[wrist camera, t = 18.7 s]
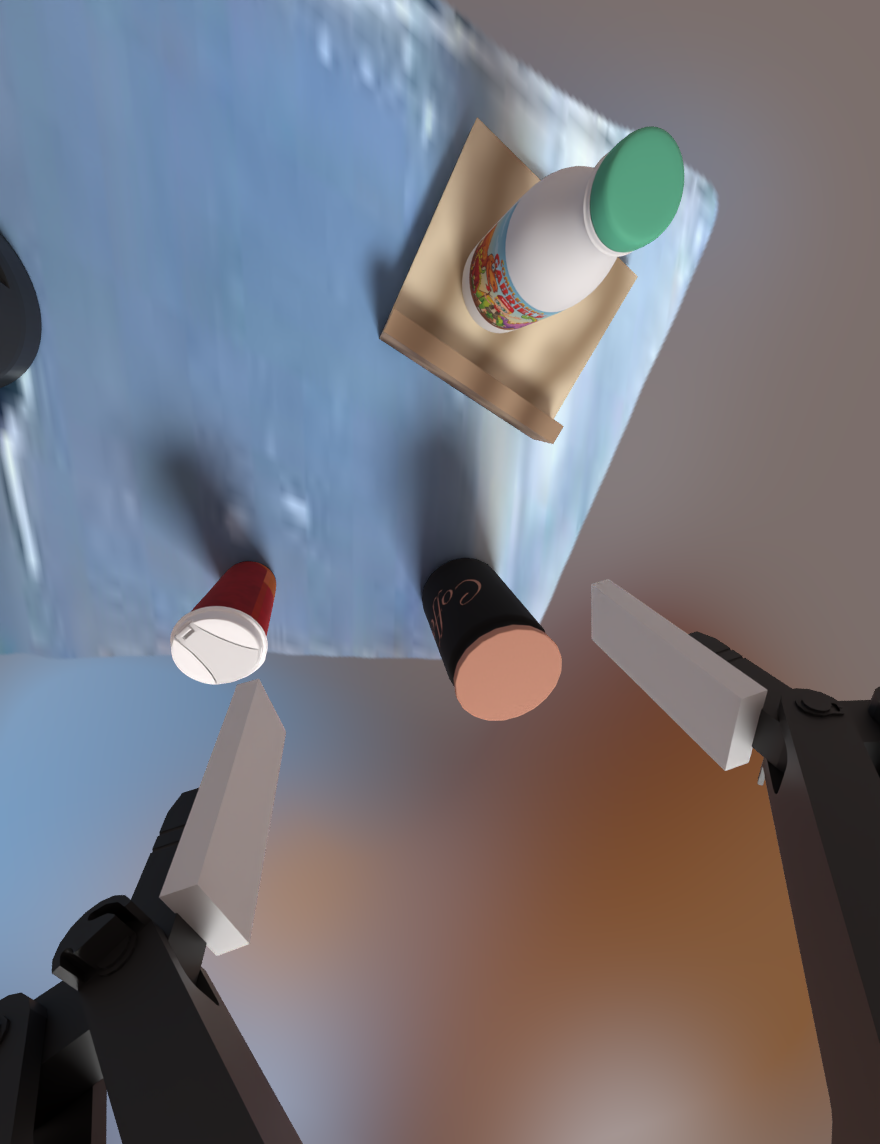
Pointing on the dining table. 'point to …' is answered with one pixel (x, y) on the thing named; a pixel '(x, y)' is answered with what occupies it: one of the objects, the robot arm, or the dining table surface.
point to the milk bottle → (573, 232)
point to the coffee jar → (489, 641)
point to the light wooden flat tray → (448, 332)
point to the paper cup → (227, 627)
